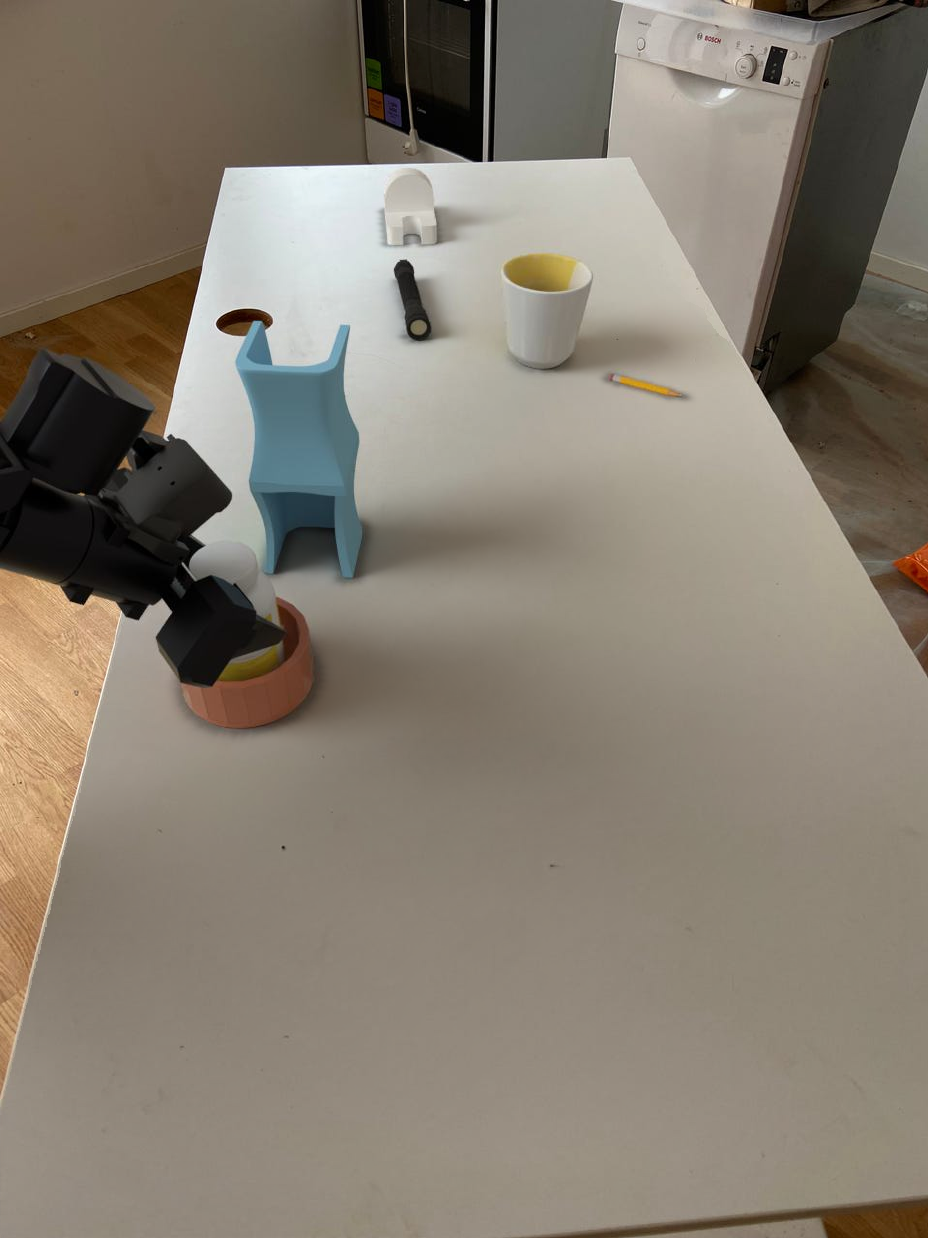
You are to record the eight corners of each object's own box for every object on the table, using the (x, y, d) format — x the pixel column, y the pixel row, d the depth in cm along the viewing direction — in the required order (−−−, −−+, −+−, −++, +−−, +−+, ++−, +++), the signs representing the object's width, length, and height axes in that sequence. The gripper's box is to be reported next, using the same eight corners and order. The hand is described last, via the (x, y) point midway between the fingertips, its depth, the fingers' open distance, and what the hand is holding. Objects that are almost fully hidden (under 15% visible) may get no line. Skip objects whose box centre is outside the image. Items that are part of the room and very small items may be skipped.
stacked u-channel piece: (365, 523, 91) (351, 323, 77) (352, 578, 85) (335, 373, 72) (282, 518, 91) (253, 319, 78) (264, 573, 86) (229, 369, 72)
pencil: (611, 378, 111) (612, 373, 111) (683, 397, 109) (684, 391, 108) (609, 381, 111) (610, 376, 110) (681, 400, 108) (682, 395, 108)
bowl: (194, 743, 72) (182, 703, 69) (173, 650, 79) (162, 610, 76) (328, 708, 74) (323, 667, 71) (297, 621, 81) (291, 581, 78)
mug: (590, 378, 111) (600, 290, 104) (501, 380, 110) (505, 292, 103) (573, 322, 121) (581, 238, 113) (491, 323, 120) (494, 239, 113)
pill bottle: (239, 634, 79) (216, 521, 71) (304, 663, 77) (287, 549, 69) (186, 685, 75) (155, 572, 67) (253, 717, 73) (229, 603, 65)
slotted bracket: (384, 209, 146) (382, 155, 141) (430, 208, 147) (429, 154, 141) (388, 245, 137) (385, 188, 131) (437, 244, 137) (436, 187, 132)
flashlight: (406, 341, 117) (406, 317, 115) (392, 281, 128) (391, 259, 126) (431, 339, 117) (431, 316, 115) (415, 280, 129) (414, 257, 127)
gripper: (199, 508, 53) (381, 583, 65) (78, 365, 64) (253, 453, 76) (94, 668, 55) (289, 711, 67) (-6, 504, 66) (178, 567, 78)
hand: (252, 601), depth 72 cm, fingers open, 9 cm apart
